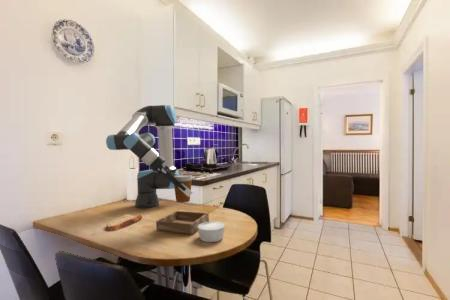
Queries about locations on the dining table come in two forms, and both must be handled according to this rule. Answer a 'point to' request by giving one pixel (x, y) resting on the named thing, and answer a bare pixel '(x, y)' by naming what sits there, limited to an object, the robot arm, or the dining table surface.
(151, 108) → the robot arm
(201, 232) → the ramekin
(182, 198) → the disposable coffee cup
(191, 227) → the open wooden box
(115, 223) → the bread slice
